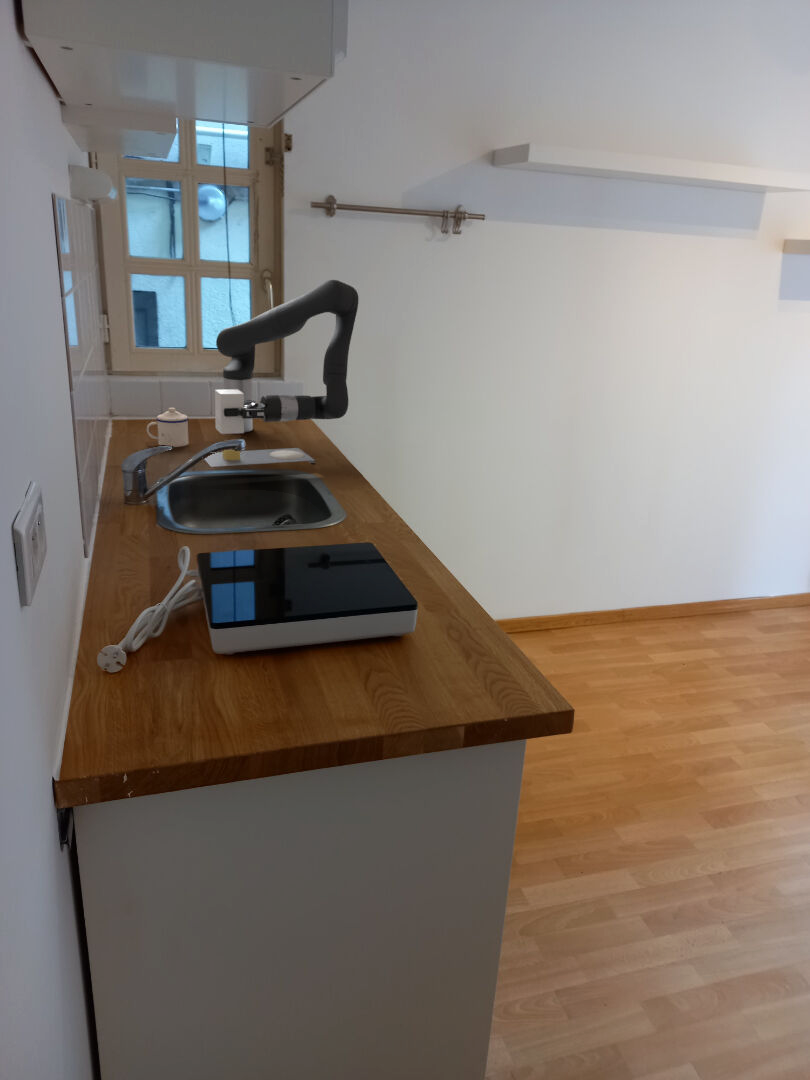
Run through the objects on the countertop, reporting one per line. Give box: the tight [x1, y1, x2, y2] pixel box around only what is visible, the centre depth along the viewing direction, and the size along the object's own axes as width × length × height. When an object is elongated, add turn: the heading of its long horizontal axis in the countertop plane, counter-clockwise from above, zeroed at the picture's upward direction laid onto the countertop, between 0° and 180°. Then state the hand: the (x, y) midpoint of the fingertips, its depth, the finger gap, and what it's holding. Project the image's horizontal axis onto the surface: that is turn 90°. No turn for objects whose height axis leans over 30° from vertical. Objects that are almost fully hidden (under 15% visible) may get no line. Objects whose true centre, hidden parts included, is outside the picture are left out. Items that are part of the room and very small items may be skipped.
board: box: [203, 447, 316, 468], centre depth 225 cm, size 15×30×1 cm, turn 116°
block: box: [222, 450, 241, 461], centre depth 221 cm, size 4×4×3 cm
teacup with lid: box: [146, 407, 189, 448], centre depth 232 cm, size 12×9×12 cm
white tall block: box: [214, 389, 245, 435], centre depth 217 cm, size 6×6×11 cm
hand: (221, 409), depth 216 cm, fingers closed on white tall block, 6 cm apart
